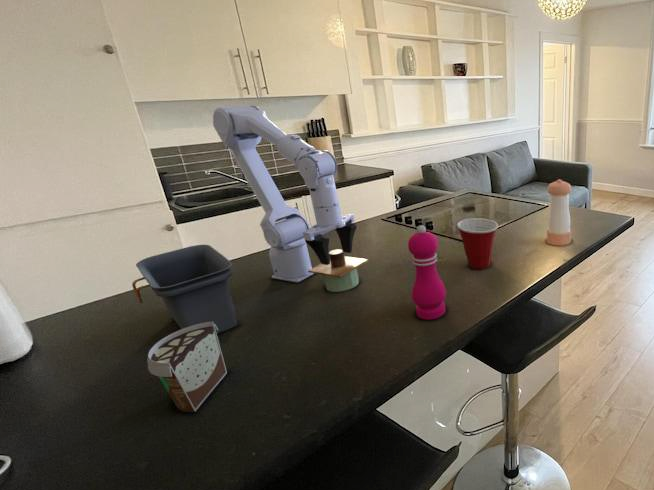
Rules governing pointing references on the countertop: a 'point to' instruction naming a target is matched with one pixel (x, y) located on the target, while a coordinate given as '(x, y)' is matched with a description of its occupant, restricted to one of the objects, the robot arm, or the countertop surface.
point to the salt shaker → (559, 213)
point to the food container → (188, 364)
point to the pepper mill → (426, 275)
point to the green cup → (341, 281)
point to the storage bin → (191, 285)
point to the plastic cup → (478, 240)
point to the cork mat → (339, 270)
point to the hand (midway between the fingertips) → (337, 257)
